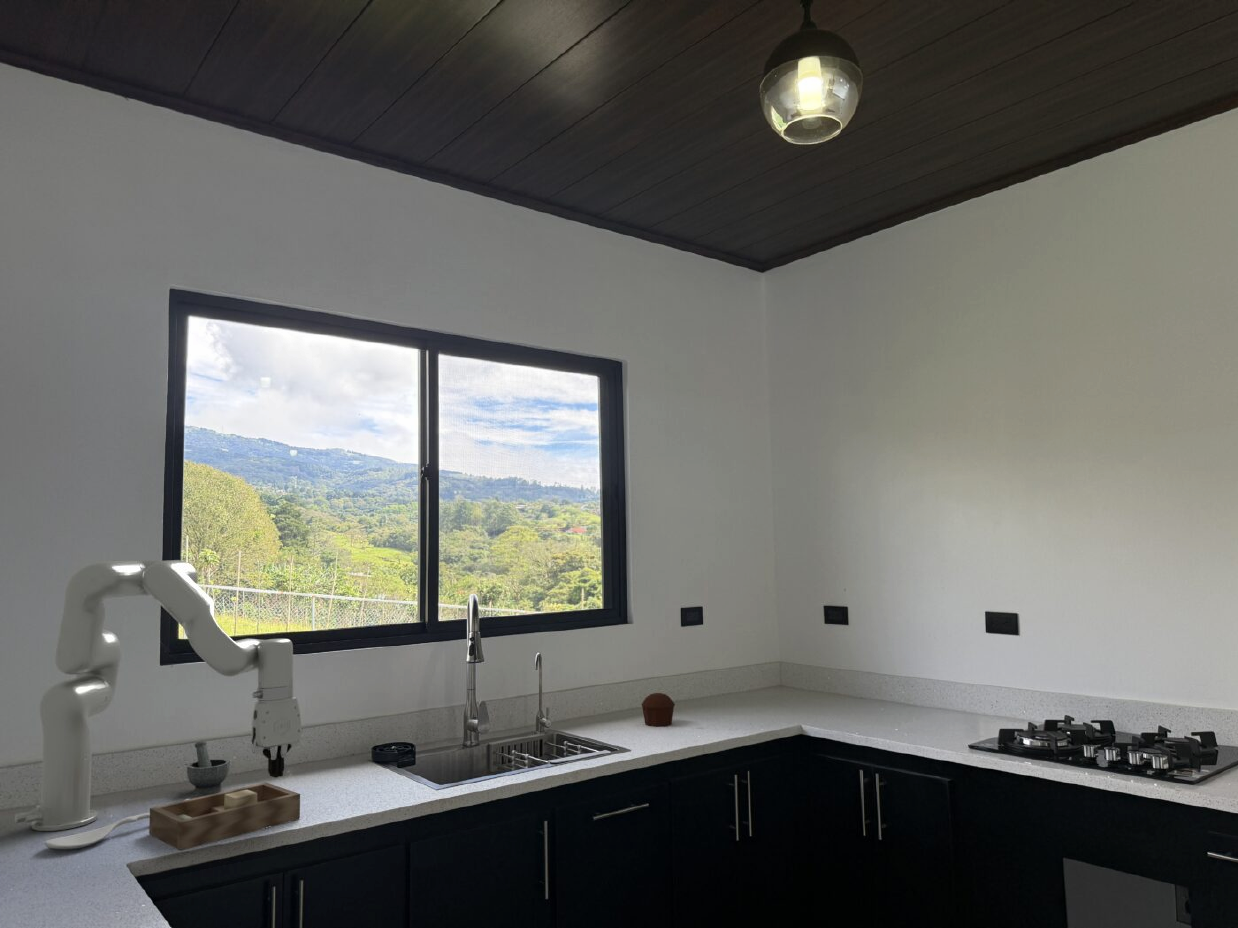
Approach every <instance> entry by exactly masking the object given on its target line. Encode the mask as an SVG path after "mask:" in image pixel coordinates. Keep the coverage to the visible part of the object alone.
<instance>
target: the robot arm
mask: <svg viewBox="0 0 1238 928" xmlns="http://www.w3.org/2000/svg"><path fill="white" fill-rule="evenodd" d="M197 572H198V571H197V570H196V569H195V567H194V566H193V565H192V564H191V563H189V562H187V561H186V560H181V559H174V560H167V559H166V560H139V559H138V560H136V559H135V560H132V559H131V560H130V559H129V560H104V561H99V562H93V563H91V564H88V565H86V566H84V567H82V568H80V569H79V570H77V571H76V572H75V573H74V574H73V575H72V576H71V578H70V579H69V580H68V583H67V584H66V588H65V593H64V603H63V612H62V616H61V621H60V626H59V631H58V632H59V633H58V638H57V644H56V649H55V653H54V654H55V655H54V658H55V659H54V662H55V663H54V664H55V666H56V668H57V669H58V670H59V671H60V672H61V673H63V674H65V675H76V677H75V678H71V679H67V680H64V681H60V682H57V683H55V684H54V685H52V686H50V687H49V688H48V689H47V690H46V691H45V692H44V694H43V695H42V696H41V700H40V702H39V703H40V704H39V715H40V717H39V718H40V721H41V729H42V730H41V731H42V759H41V760H42V761H41V762H42V763H41V764H42V765H41V787H40V792H41V793H40V804H36V806H35V807H36V808H33V809H31V811H27V812H25V811H24V812H20V813H16V814H14V823H15V824H20V823H25V824H27V823H31V829H33V830H34V831H38V832H55V831H64V830H69V829H74V828H79V827H82V826H85V825H88V824H91V823H93V822H94V821H96V820H97V818H98V811H96V810H94V809H91V788H92V787H91V785H92V758H93V757H92V756H93V755H92V753H93V736H92V731H91V727H90V724H89V720H88V718H90V717H93V716H95V715H98V714H101V713H102V712H104V711H105V710H106V709H107V708H108V707H110V705H111V704H112V702H113V700H114V697H115V693H116V688H117V682H118V676H119V671H120V670H119V669H120V663H121V657H122V646H121V642H120V640H119V638H118V637H117V635H116V634H115V633H113V632H112V631H110V630H108V629H104V624H105V620H106V610H105V609H106V607H105V603H104V601H105V600H106V599H110V598H111V599H112V598H125V597H132V596H133V597H136V596H139V597H140V596H150V597H152V598H153V599H154V600H155V601H156V602H157V603H158V604H159V605H160V606H161V607H162V608H163V609H164V610H165V611H166V612H167V613H169V615H170V616H171V617H172V618H173V619H174V620H175V621H176V622H177V623H179V625H180V626H181V627H182V628H183V630H184V633H185V636H186V638H187V640H188V642H189V645H190V646H191V648H192V649H193V651H194V652H195V653H196V654H197V655H198V656H199V658H201V659H202V660H203V661H204V662H205V663H206V664H207V665H208V666H209V667H210V668H211V669H212V670H214V671H215V672H216V673H218V674H219V675H222V676H223V677H224V676H225V677H236V676H239V675H243V674H245V673H248V672H252V671H256V670H257V689H256V691H254V692H252V695H251V696H252V698H253V699H257V701H256V702H254V706H253V707H254V708H253V713H252V719H251V720H252V721H251V732H250V733H251V735H250V736H251V738H250V739H251V744H252V749H251V753H253V754H257V755H263V756H264V757H265V758H266V759H267V765H268V766H267V772H268V774H269V776H270V777H272V778H279V777H283V776H284V771H285V758H286V757H287V754H288V753H289V752H290V750H291V748H294V747H296V746H299V744H300V740H301V739H302V722H301V721H302V720H301V711H300V705H299V701H298V698H297V697H296V696H294V646H293V642H292V640H290V639H289V638H270V639H259V638H258V639H257V638H244V639H238V640H233V638H231V636H229V635H228V634H227V633H226V632H225V631H224V630H223V629H222V628H221V627H220V625H219V624H218V622H217V620H216V618H215V613H214V611H215V605H216V603H215V601H214V599H213V598H212V597H210V595H208V593H206V592H205V591H204V590H203V589H202V588H201V587H200V586H199V585H198V584H197V583H198V581H199V580H198V579H199V576H198V573H197Z"/></svg>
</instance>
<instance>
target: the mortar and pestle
mask: <svg viewBox="0 0 1238 928" xmlns="http://www.w3.org/2000/svg"><path fill="white" fill-rule="evenodd" d="M207 743H208V742H207V741H206V740H200V741H196V743H194V748H195V749H196V757H197V761H195V762H191V763H189V764H188V765H187V767H186V772H187V773H186V774H187V775H186V776H187V779H188V782H190V784H191V785H192V786H194V787H195V788H194V793H195V794H194V795H197V796H199V795H200V796H207V795H211V794H216V793H220V792H221V791H222V790H221V789H222V783H223V782H224V781H225V780H226V778H227V777H228V775H229V771H230V766H231V765H230V763H231V761H230V760H228V759H224V758H219V759H218V758H212V759H211V758H210V756H209V752H208V747H207Z"/></svg>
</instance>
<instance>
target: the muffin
mask: <svg viewBox="0 0 1238 928" xmlns="http://www.w3.org/2000/svg"><path fill="white" fill-rule="evenodd" d="M640 705H641V707H642V714H643V719H644V724H645V726H647V727H652V728H653V727H654V728H660V727H661V728H662V727H670V726H671V725H672V724H673V718H674V717H673V716H674V707H675V706H676V704H675V703H674V701H673V700H672V698H671V697H670V696H669V695H668V694H666V693H662V692H654V693H651V694H649V695H647V696H646V697H645V698H644V700H643V701H642V703H641V704H640Z"/></svg>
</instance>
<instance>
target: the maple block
mask: <svg viewBox="0 0 1238 928" xmlns="http://www.w3.org/2000/svg"><path fill="white" fill-rule="evenodd" d="M256 802H257V793H255V792H253V791H250V790H242V791H238V792H233V793H229V794H225V800H224V810H227V809H231V808H235V807H239V806H244V805H248V804H252V803H256Z"/></svg>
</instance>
